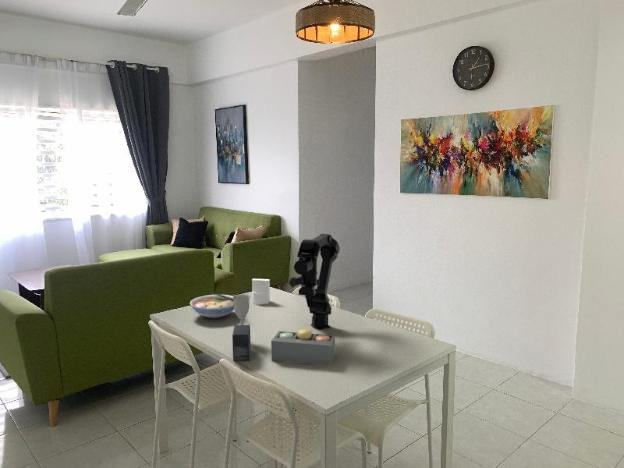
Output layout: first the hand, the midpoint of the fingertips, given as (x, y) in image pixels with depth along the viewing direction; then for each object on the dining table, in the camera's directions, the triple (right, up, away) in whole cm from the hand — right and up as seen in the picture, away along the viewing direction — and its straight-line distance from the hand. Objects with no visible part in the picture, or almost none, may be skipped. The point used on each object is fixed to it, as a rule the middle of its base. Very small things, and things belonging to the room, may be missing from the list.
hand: (309, 306), depth 200 cm
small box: (-25, -16, -18) cm, 35 cm away
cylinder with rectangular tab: (-25, -5, +51) cm, 57 cm away
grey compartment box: (-2, -16, -19) cm, 25 cm away
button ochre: (-2, -9, -19) cm, 21 cm away
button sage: (-9, -11, -17) cm, 22 cm away
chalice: (-28, -13, -1) cm, 31 cm away
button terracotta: (+5, -11, -20) cm, 23 cm away
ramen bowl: (-45, -9, +28) cm, 54 cm away
